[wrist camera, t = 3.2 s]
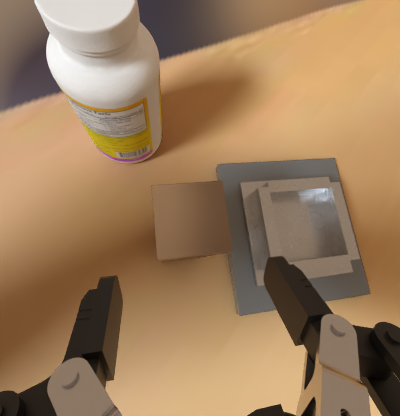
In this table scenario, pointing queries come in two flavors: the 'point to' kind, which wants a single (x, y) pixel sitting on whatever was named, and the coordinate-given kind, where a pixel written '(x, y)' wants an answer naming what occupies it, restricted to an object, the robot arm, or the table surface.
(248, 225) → the open square frame
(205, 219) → the brown wooden block
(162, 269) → the table surface
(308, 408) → the robot arm
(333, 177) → the coaster
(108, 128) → the supplement bottle
